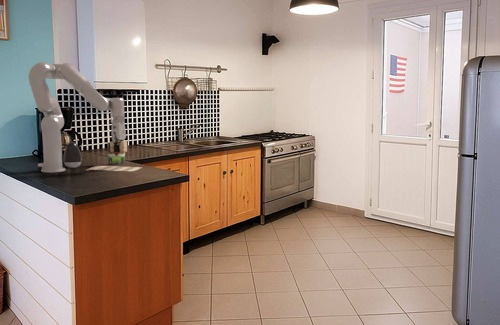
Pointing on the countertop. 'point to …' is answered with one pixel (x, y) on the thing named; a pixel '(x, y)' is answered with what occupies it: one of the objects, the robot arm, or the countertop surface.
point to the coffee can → (115, 157)
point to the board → (114, 168)
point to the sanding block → (122, 146)
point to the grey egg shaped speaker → (72, 155)
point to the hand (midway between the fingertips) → (118, 151)
